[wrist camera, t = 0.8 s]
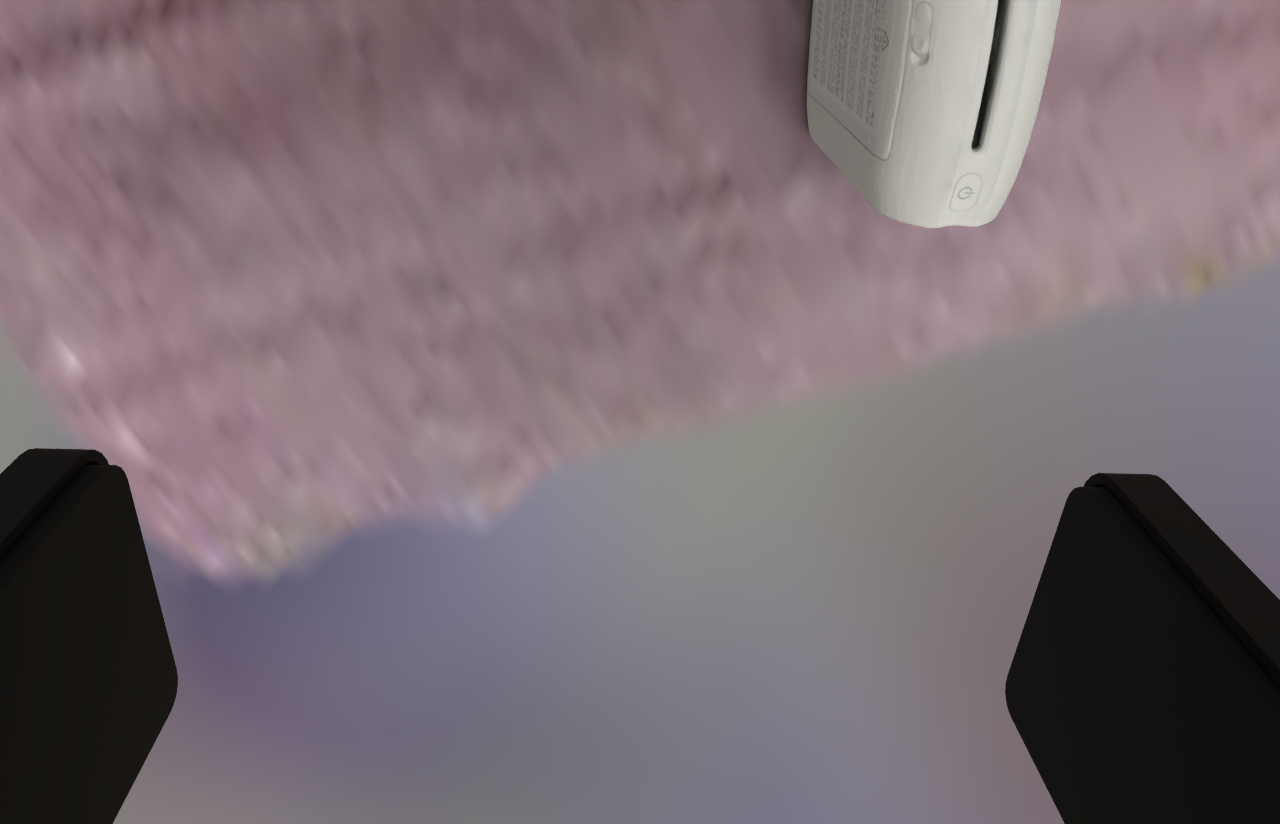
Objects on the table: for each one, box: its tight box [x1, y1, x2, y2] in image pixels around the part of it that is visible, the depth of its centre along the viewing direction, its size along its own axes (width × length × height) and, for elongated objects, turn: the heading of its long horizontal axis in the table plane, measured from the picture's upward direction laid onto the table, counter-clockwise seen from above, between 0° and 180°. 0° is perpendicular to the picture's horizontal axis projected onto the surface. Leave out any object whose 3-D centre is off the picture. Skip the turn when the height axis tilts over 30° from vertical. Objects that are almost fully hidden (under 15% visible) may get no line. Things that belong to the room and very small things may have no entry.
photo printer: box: [807, 0, 1061, 228], centre depth 28 cm, size 10×4×12 cm, turn 0°
